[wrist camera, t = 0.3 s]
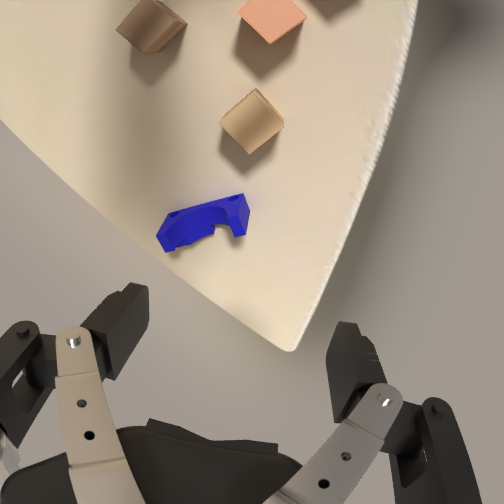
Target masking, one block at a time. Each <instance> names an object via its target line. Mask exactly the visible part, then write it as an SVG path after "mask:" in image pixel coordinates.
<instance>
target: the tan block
mask: <svg viewBox="0 0 504 504" xmlns="http://www.w3.org/2000/svg"><path fill="white" fill-rule="evenodd" d="M186 25H187V23H186V22H185V21H184V20H183V19H181V18H180V17H179V16H178V15H177V14H175V13H174V12H173V11H172V10H170V9H169V8H168V7H167V6H165V5H164V4H163V3H162V2H160V1H156V0H141V1H140V2H139V3H138V4H137V5H136V7H135V8H134V9H133V10H132V11H131V12H130V13H129V14H128V15H127V17H126V18H125V19H124V20H123V21H122V22H121V24H120V25H119V26H118V27H117V28H116V31H117V32H118V33H119V34H121V35H122V36H123V37H124V38H125V39H127V40H128V41H129V42H130V43H131V44H133V45H134V46H135V47H136V48H137V49H138V50H140V51H141V52H142V53H143V54H145V53H154V52H160V51H161V50H162V49H163V48H164V47H165V46H166V45H167V44H168V43H169V42H170V40H171V39H172V38H173V37H174V36H175V35H176V34H177V33H178V32H179V31H180V30H182V29H183V28H184V27H185V26H186Z"/></svg>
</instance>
